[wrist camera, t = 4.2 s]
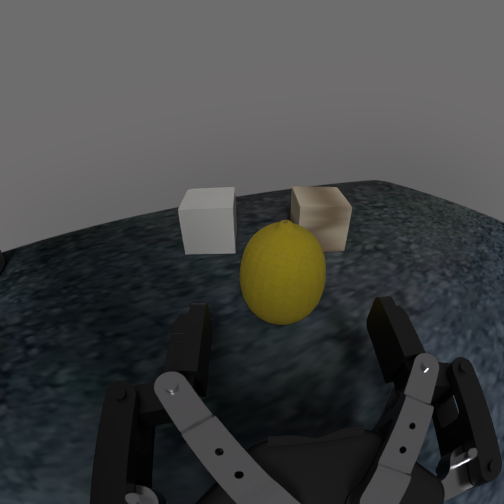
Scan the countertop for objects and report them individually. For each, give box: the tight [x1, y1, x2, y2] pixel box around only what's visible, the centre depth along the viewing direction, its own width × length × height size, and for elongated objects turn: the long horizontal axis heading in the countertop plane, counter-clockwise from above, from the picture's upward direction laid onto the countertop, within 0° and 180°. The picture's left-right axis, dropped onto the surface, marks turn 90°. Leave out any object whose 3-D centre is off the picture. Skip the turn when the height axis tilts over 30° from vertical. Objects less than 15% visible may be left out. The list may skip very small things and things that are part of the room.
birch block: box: [290, 187, 352, 251], centre depth 28 cm, size 5×5×5 cm
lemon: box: [240, 220, 326, 325], centre depth 18 cm, size 6×6×8 cm
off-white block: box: [178, 187, 237, 254], centre depth 28 cm, size 5×5×5 cm
